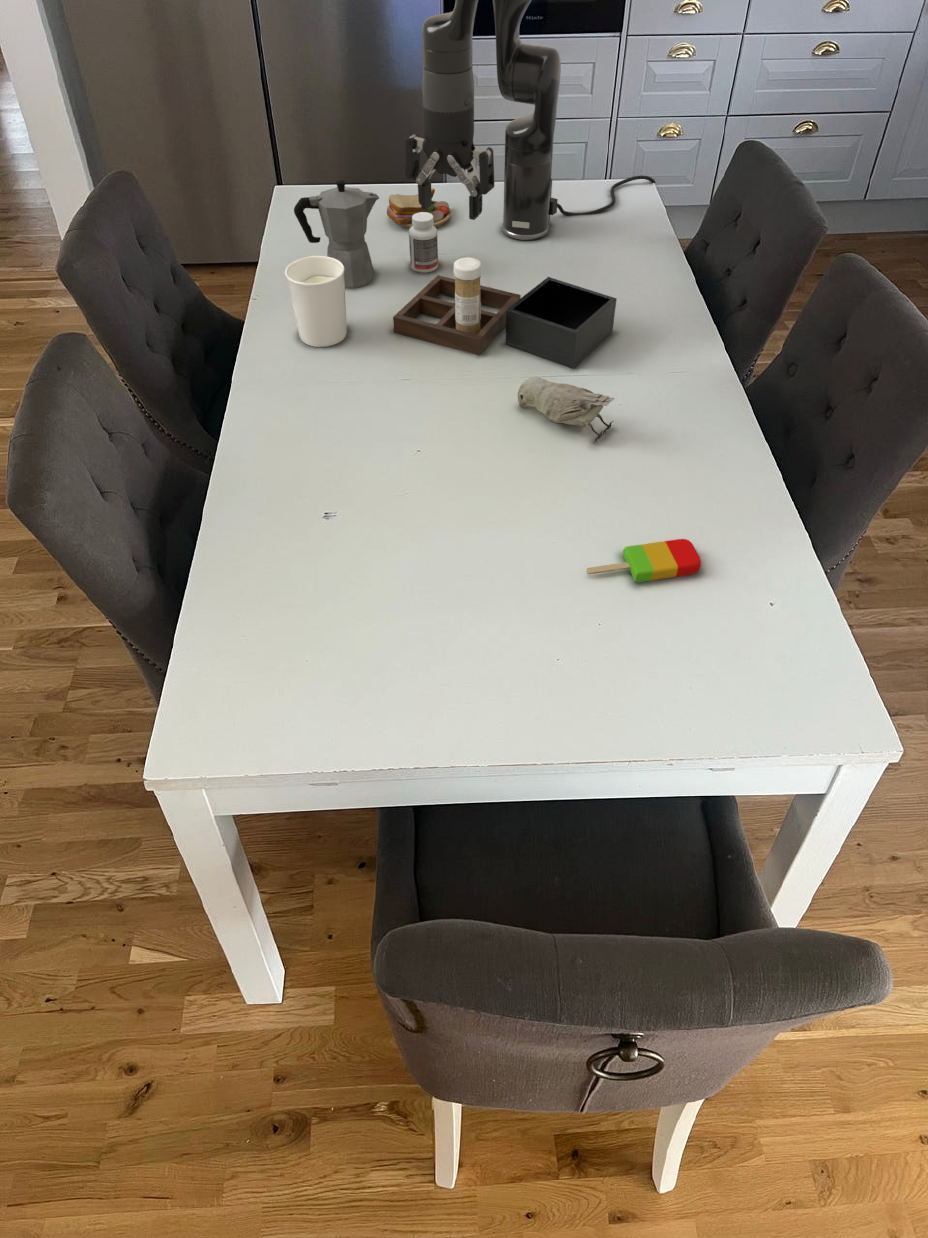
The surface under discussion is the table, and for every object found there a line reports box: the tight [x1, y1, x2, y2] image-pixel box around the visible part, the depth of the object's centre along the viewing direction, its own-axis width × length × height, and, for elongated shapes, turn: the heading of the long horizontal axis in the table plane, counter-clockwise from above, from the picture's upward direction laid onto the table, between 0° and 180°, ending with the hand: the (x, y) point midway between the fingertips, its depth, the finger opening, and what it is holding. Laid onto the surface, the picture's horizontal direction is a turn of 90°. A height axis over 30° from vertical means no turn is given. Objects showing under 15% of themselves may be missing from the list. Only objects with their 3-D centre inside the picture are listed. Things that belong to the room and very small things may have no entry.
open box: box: [504, 276, 618, 370], centre depth 158 cm, size 14×14×7 cm
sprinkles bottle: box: [453, 257, 482, 335], centre depth 156 cm, size 5×5×13 cm
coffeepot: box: [293, 179, 380, 289], centre depth 169 cm, size 15×9×18 cm, turn 103°
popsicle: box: [586, 538, 702, 583], centre depth 121 cm, size 6×15×2 cm, turn 101°
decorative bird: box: [517, 376, 615, 444], centre depth 141 cm, size 5×16×8 cm, turn 55°
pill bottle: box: [408, 212, 439, 274], centre depth 174 cm, size 5×5×10 cm
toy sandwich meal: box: [386, 187, 452, 230], centre depth 190 cm, size 12×14×5 cm
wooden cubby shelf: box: [392, 274, 522, 356], centre depth 163 cm, size 17×17×3 cm
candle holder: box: [284, 255, 348, 348], centre depth 157 cm, size 10×10×12 cm
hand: (450, 212), depth 146 cm, fingers open, 8 cm apart
